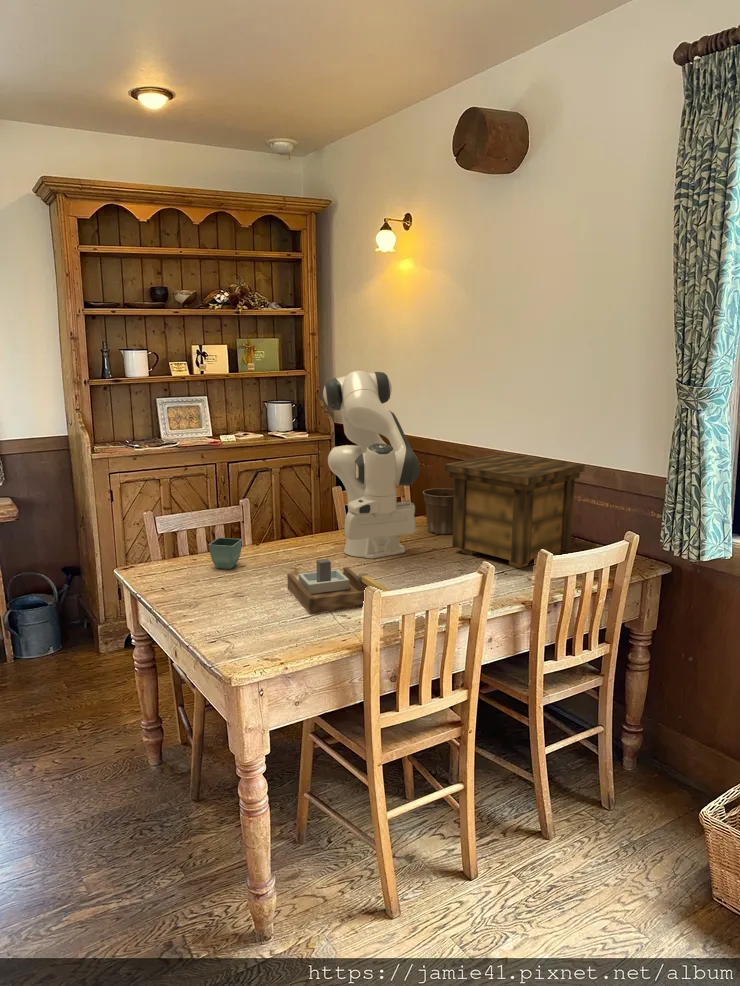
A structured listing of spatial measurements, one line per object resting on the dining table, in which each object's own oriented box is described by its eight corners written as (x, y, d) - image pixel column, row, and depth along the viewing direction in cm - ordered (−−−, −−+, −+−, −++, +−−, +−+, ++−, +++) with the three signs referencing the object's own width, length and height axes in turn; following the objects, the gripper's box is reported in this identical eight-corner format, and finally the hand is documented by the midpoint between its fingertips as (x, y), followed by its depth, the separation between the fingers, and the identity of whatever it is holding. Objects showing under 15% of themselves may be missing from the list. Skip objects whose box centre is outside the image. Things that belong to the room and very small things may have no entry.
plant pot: (417, 526, 311) (418, 488, 307) (455, 525, 314) (456, 487, 310) (427, 537, 295) (428, 497, 292) (467, 535, 298) (468, 495, 295)
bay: (348, 580, 245) (348, 565, 244) (375, 605, 223) (375, 589, 222) (287, 587, 237) (287, 572, 236) (309, 614, 216) (309, 597, 215)
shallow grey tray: (337, 578, 243) (337, 553, 241) (349, 589, 233) (349, 563, 231) (298, 582, 238) (298, 558, 236) (308, 594, 228) (308, 568, 226)
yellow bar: (356, 579, 229) (356, 574, 229) (365, 578, 230) (365, 572, 230) (385, 598, 213) (385, 592, 213) (394, 597, 214) (394, 591, 214)
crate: (443, 552, 275) (445, 464, 268) (500, 534, 299) (503, 453, 292) (523, 574, 251) (528, 478, 244) (579, 553, 275) (584, 464, 268)
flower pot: (233, 571, 253) (232, 545, 251) (209, 570, 255) (208, 544, 253) (243, 563, 261) (242, 538, 259) (219, 562, 263) (218, 537, 261)
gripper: (410, 498, 215) (409, 544, 218) (342, 503, 208) (342, 552, 211) (419, 502, 209) (418, 550, 212) (350, 509, 202) (350, 558, 205)
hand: (380, 551), depth 211 cm, fingers closed
